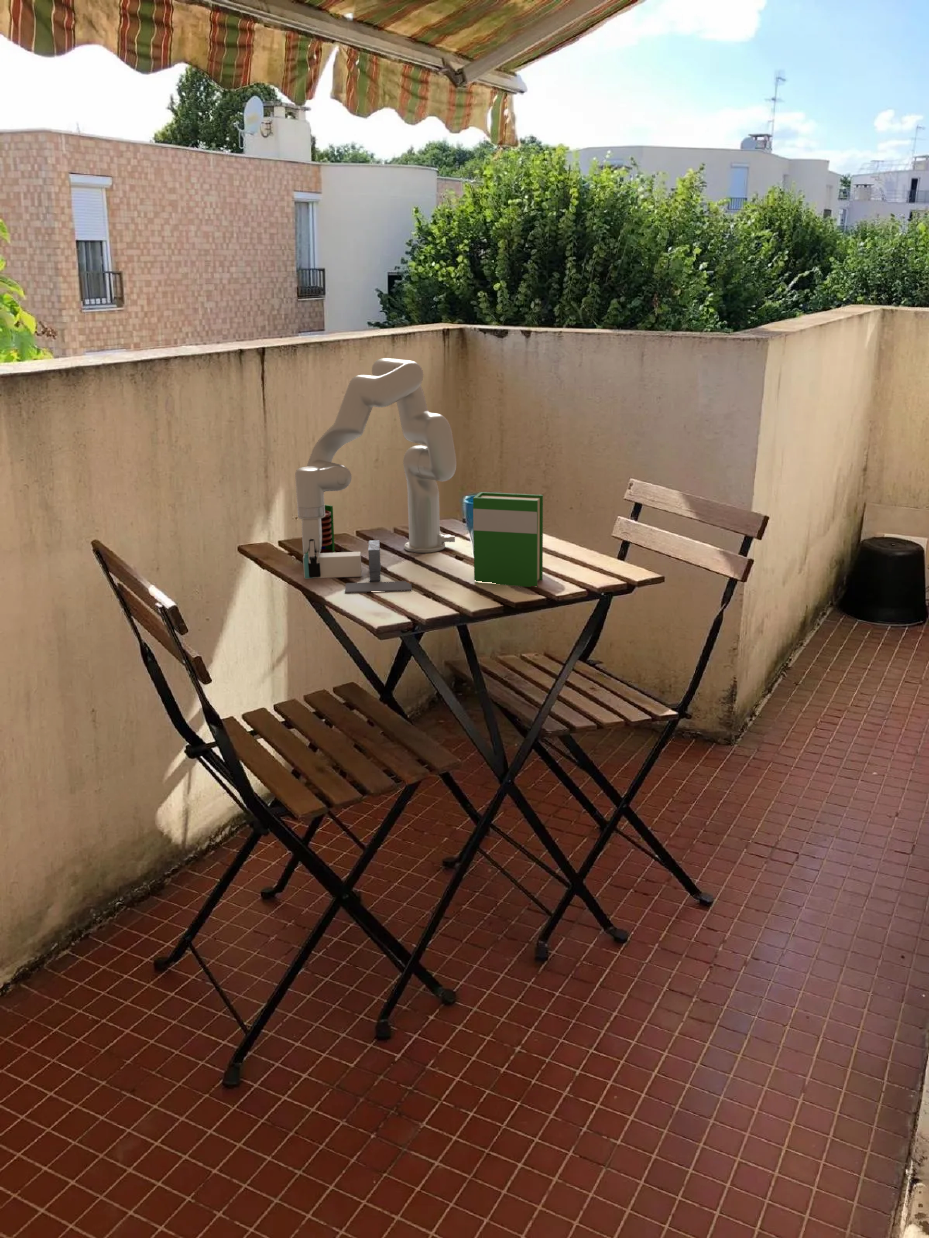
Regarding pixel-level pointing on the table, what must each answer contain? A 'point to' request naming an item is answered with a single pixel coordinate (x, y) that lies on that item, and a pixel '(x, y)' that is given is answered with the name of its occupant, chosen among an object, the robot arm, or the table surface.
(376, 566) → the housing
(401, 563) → the table surface
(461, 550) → the table surface
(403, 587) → the mat
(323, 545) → the motor
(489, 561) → the hardback book
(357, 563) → the white and teal box
